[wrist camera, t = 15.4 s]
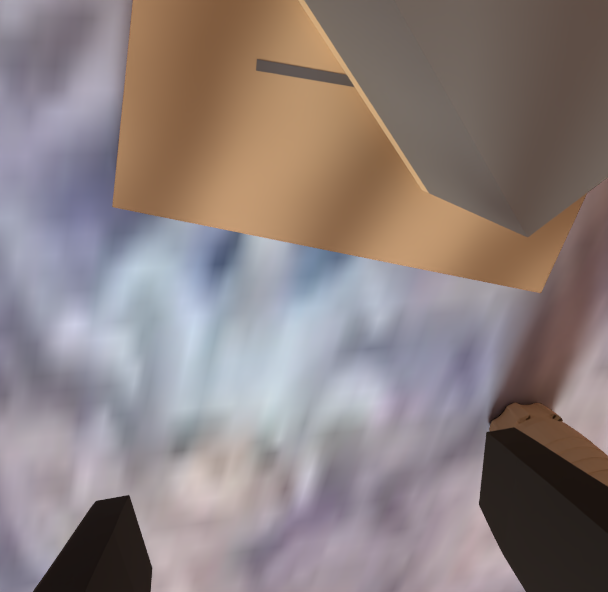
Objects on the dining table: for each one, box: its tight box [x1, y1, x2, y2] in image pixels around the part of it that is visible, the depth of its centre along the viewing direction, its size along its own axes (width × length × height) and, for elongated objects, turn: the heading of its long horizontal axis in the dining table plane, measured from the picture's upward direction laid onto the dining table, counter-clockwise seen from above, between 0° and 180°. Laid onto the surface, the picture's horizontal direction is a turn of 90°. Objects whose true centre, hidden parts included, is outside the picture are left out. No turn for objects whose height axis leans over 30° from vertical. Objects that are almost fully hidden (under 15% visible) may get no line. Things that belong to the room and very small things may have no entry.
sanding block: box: [298, 0, 608, 237], centre depth 11 cm, size 8×5×6 cm, turn 38°
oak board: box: [112, 0, 587, 293], centre depth 15 cm, size 16×12×1 cm
